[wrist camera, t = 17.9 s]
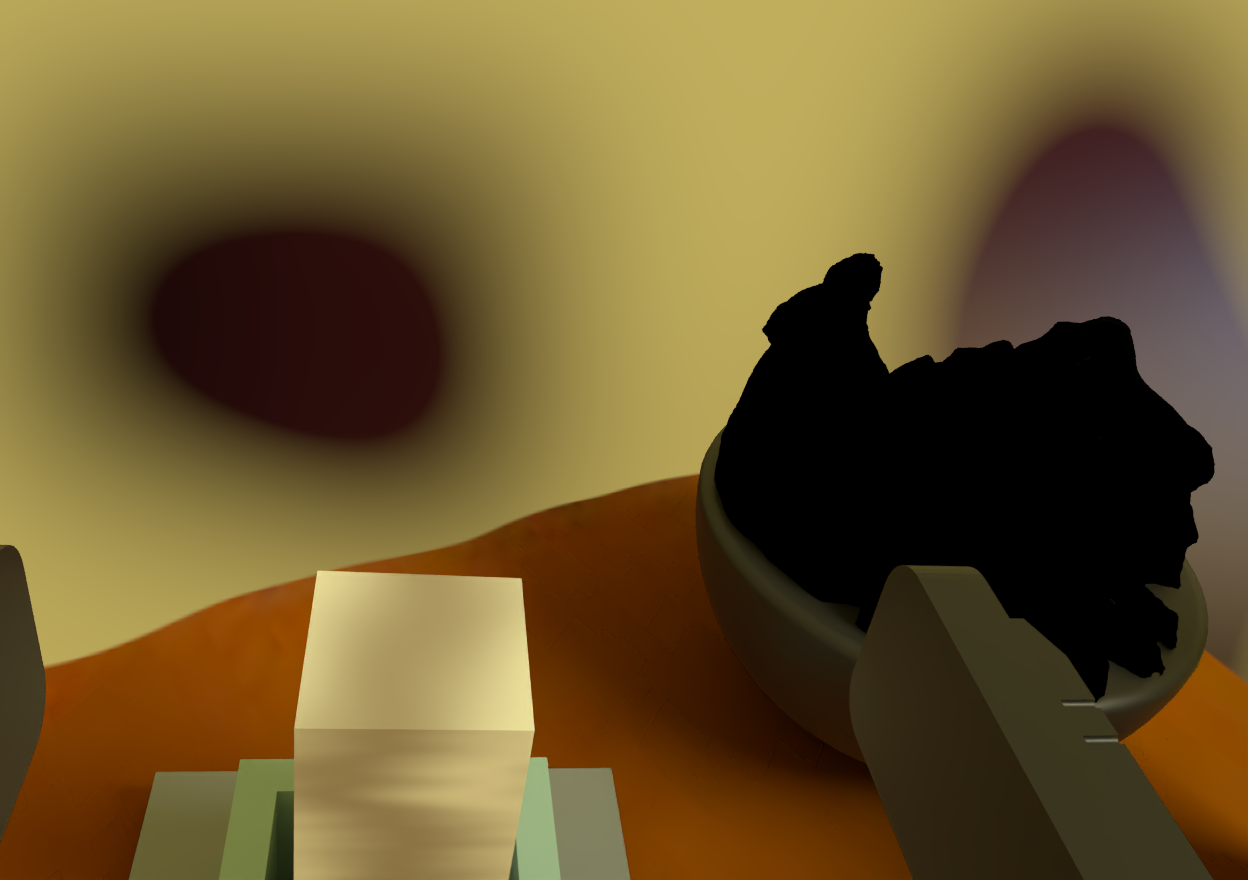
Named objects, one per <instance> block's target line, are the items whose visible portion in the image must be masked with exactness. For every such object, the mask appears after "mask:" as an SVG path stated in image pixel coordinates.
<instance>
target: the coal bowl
mask: <svg viewBox="0 0 1248 880" xmlns="http://www.w3.org/2000/svg"><path fill="white" fill-rule="evenodd" d="M874 256H875V255H874V254H867V253H864V254H863V253H858V254H854V255H853V256H851V257H849V258H845V259H843V260H842V261H840V262H838V263H836V264H835V265H832V266H831V267H830V268H829V270H828V272H827V274H826V275H825V278H824V282H823V283H822V284H818V285H816V286H812V287H809V288H806V289H804V290H802V291H800V292H798V293H797V294H795V295H794V296H793V297H791V298H790V299H789V300H788V301H787V302H784V303H782V304H780V305H779V306H777V308H776V310H775V311H774V312H773V313H772V315H771V316H770V319H769V320H768V321H767V324H766V325H765V326H764V328H763V329H762V330H763V333H765V335H766V336H767V337H768V341H769V342H770V343H771V346H770V347H769V349H768V350H767V351H765V353H764V354H763V356H762V357H761V358H760V360H759V361H758V363H757V365H756V366H755V368H754V369H753V372H752V374H751V375H750V377H749V379H748V381H747V384H746V386H745V388H744V391H743V393H742V395H741V397H740V400H739V402H738V403H737V405H736V408H734V410H733V413H732V414H731V415H730V417H729V420H728V422H727V425H726V426H725V427H724V428H723V429H722V430H721V431H720V433H719V434H718V435H717V436H716V437H715V439H714V441H713V442H712V444H711V445H710V447H709V449H708V450H707V452H706V454H705V457H704V459H703V462H702V465H701V470H700V475H699V481H698V488H697V497H696V534H697V545H698V553H699V559H700V565H701V570H702V575H703V579H704V583H705V586H706V590H707V593H708V596H709V599H710V602H711V605H712V608H713V611H714V613H715V616H716V618H717V620H718V623H719V625H720V627H721V629H722V631H723V633H724V635H725V637H726V639H727V641H728V643H729V644H730V646H731V648H732V650H733V652H734V653H735V655H736V656H737V657H738V659H739V660H740V662H741V663H742V665H743V666H744V668H745V669H746V670H747V672H748V673H749V675H750V676H751V678H752V679H753V680H754V681H755V682H756V684H757V685H758V686H759V687H760V689H761V690H762V691H763V692H764V693H765V694H766V695H767V696H768V697H769V698H770V699H771V700H772V701H773V702H774V703H775V704H776V705H777V706H778V707H779V708H780V709H781V710H782V711H783V712H784V713H785V714H787V715H788V716H789V717H790V718H791V719H792V720H793V721H795V722H796V723H797V724H798V725H800V726H801V727H802V728H804V729H805V730H806V731H808V732H809V733H810V734H812V735H813V736H815V737H816V738H818V739H820V740H821V741H823V742H824V743H826V744H827V745H829V746H831V747H833V748H835V749H836V750H838V751H840V752H842V753H844V754H846V755H848V756H850V757H852V758H854V759H856V760H859V761H861V762H863V763H866V761H865V759H864V756H863V754H862V751H861V749H860V746H859V744H858V741H857V739H856V736H855V733H854V730H853V726H852V721H851V716H850V704H849V693H850V682H851V677H852V673H853V670H854V667H855V664H856V662H857V659H858V656H859V654H860V651H861V648H862V645H863V643H864V640H865V637H866V634H867V632H868V629H869V626H870V624H871V621H872V618H873V615H874V613H875V610H876V607H877V605H878V602H879V599H880V596H881V594H882V591H883V588H884V586H885V583H886V581H887V578H888V576H889V575H890V573H891V572H892V571H893V570H894V569H895V568H896V567H898V566H901V565H916V566H968V567H973V568H974V569H976V570H978V571H979V572H980V573H981V574H982V575H983V577H984V578H985V580H986V581H987V583H988V584H989V586H990V588H991V589H992V591H993V592H994V594H995V596H996V597H997V599H998V600H999V602H1000V604H1001V605H1002V607H1003V609H1004V610H1005V612H1006V613H1007V615H1008V617H1009V618H1017V619H1025V620H1026V621H1027V622H1028V623H1029V624H1030V625H1031V626H1033V627H1034V628H1035V629H1036V630H1037V631H1038V632H1039V633H1041V634H1042V635H1043V636H1044V637H1045V638H1046V639H1048V640H1049V641H1050V642H1051V643H1052V644H1053V645H1054V646H1056V647H1057V648H1058V649H1059V650H1060V651H1061V652H1063V653H1064V654H1065V655H1066V656H1067V657H1068V659H1069V660H1070V662H1071V663H1072V665H1073V666H1074V668H1075V670H1076V671H1077V673H1078V674H1079V676H1080V677H1081V679H1082V680H1083V682H1084V683H1085V685H1086V686H1087V688H1088V689H1089V691H1090V692H1091V694H1092V695H1093V697H1094V698H1095V701H1094V704H1095V707H1096V708H1101V709H1102V711H1103V712H1104V714H1105V715H1106V717H1107V718H1108V720H1109V721H1110V723H1111V724H1112V726H1113V727H1114V729H1115V730H1116V732H1117V733H1118V742H1120V741H1121V740H1123V739H1124V738H1126V737H1128V736H1129V735H1131V734H1132V733H1134V732H1135V731H1136V730H1138V729H1139V728H1140V727H1141V726H1143V725H1144V724H1145V723H1147V722H1148V721H1149V720H1150V719H1151V718H1153V717H1154V716H1155V715H1156V714H1157V713H1158V712H1159V711H1160V710H1161V709H1162V708H1163V707H1164V706H1165V705H1166V704H1167V703H1168V702H1169V701H1170V700H1171V699H1172V698H1173V697H1174V696H1175V695H1176V694H1177V693H1178V692H1179V690H1180V689H1181V688H1182V687H1183V685H1184V684H1185V683H1186V681H1187V680H1188V679H1189V677H1190V676H1191V675H1192V673H1193V672H1194V671H1195V669H1196V668H1197V666H1198V664H1199V662H1200V660H1201V657H1202V655H1203V653H1204V648H1205V644H1206V639H1207V635H1208V613H1207V606H1206V601H1205V598H1204V595H1203V591H1202V588H1201V586H1200V583H1199V581H1198V579H1197V577H1196V575H1195V573H1194V571H1193V569H1192V568H1191V566H1190V564H1189V562H1188V561H1187V559H1186V557H1185V553H1186V550H1187V548H1188V547H1189V546H1191V545H1192V544H1194V543H1197V539H1198V531H1197V528H1196V525H1195V522H1194V517H1193V509H1192V506H1191V505H1190V497H1191V492H1193V491H1195V490H1196V489H1197V488H1198V487H1199V486H1201V485H1203V484H1206V483H1208V482H1209V481H1210V480H1211V478H1212V477H1213V475H1214V465H1215V464H1214V459H1213V454H1212V447H1211V446H1210V445H1209V444H1208V443H1207V441H1206V440H1205V439H1204V437H1203V436H1202V435H1201V434H1200V433H1199V432H1198V431H1197V430H1195V429H1194V428H1193V427H1191V426H1189V425H1187V423H1186V422H1185V421H1184V420H1183V418H1182V417H1181V416H1180V415H1179V414H1178V413H1177V412H1176V410H1174V408H1173V407H1172V406H1171V405H1170V404H1168V403H1167V402H1166V401H1165V400H1164V399H1162V397H1160V396H1159V395H1158V394H1157V393H1156V392H1155V391H1153V390H1152V389H1151V388H1150V387H1149V386H1148V385H1147V384H1146V383H1145V382H1144V381H1143V379H1142V378H1141V376H1140V374H1139V372H1138V370H1137V366H1136V355H1135V350H1134V344H1133V340H1132V336H1131V331H1130V329H1129V327H1128V326H1127V325H1126V324H1125V323H1124V322H1122V321H1121V320H1119V319H1115V318H1114V317H1109V316H1107V317H1100V318H1098V319H1093V320H1089V321H1086V322H1083V323H1072V322H1057V323H1056V324H1055V325H1054V326H1053V327H1052V328H1051V329H1050V330H1049V332H1047V333H1046V334H1044V335H1043V336H1042V337H1041V338H1038V339H1036V340H1033V341H1030V342H1027V343H1023V344H1021V345H1019V346H1018V347H1016V348H1015V349H1014V348H1013V346H1012V344H1011V343H1010V342H1009V341H1005V340H1001V341H997V342H993V343H990V344H988V345H986V346H985V347H983V348H972V347H971V348H957V349H955V350H954V352H953V353H952V354H951V355H950V356H949V357H947V358H946V359H945V360H944V361H943V362H937V363H935V362H934V360H933V359H932V357H931V356H929V355H925V356H923V357H920V358H917V359H916V360H914V361H911V362H909V363H906V364H904V365H902V366H900V367H899V368H897V369H895V370H894V371H893V372H891V373H890V374H889V371H888V369H887V367H886V365H885V364H884V363H883V361H882V360H881V358H880V356H879V354H878V350H877V349H876V347H875V345H874V343H873V342H872V340H871V339H870V336H869V331H868V325H867V324H866V323H867V314H868V310H870V309H871V306H870V301H872V300H873V298H874V296H875V295H876V293H877V292H878V291H879V288H880V283H881V281H880V280H881V272H882V270H883V267H881V266H880V262H879V261H877V259H875V257H874Z"/></svg>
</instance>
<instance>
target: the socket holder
mask: <svg viewBox="0 0 1248 880" xmlns="http://www.w3.org/2000/svg"><path fill="white" fill-rule="evenodd" d="M129 880H294V759H240V763H239V769H238V771H216V772H156V774H155V778H154V782H153V786H152V790H151V794H150V798H149V802H148V805H147V809H146V813H145V817H144V821H143V825H142V829H141V833H140V837H139V841H138V845H137V849H136V853H135V857H134V861H133V864H132V868H131V872H130V876H129ZM509 880H630V875H629V869H628V863H627V857H626V851H625V846H624V840H623V834H622V828H621V822H620V817H619V811H618V805H617V799H616V793H615V787H614V782H613V776H612V770H611V768H561V769H548V762H547V757H530V760H529V765H528V771H527V777H526V783H525V788H524V794H523V800H522V806H521V811H520V817H519V823H518V829H517V834H516V840H515V846H514V852H513V857H512V863H511V869H510V875H509Z"/></svg>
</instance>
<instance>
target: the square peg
mask: <svg viewBox="0 0 1248 880" xmlns="http://www.w3.org/2000/svg"><path fill="white" fill-rule="evenodd" d="M534 731H535V730H534V718H533V707H532V695H531V684H530V672H529V660H528V649H527V637H526V626H525V614H524V603H523V591H522V580H521V578H499V577H472V576H446V575H419V574H392V573H365V572H339V571H317V578H316V585H315V592H314V598H313V605H312V612H311V619H310V625H309V632H308V639H307V646H306V652H305V659H304V666H303V673H302V679H301V686H300V693H299V700H298V706H297V713H296V720H295V727H294V880H509V875H510V869H511V863H512V857H513V852H514V846H515V840H516V834H517V829H518V823H519V817H520V811H521V806H522V800H523V794H524V788H525V783H526V777H527V771H528V765H529V760H530V754H531V748H532V742H533V737H534Z"/></svg>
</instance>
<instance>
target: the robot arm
mask: <svg viewBox="0 0 1248 880" xmlns="http://www.w3.org/2000/svg"><path fill="white" fill-rule="evenodd" d="M45 693H46V686H45V672H44V666H43V661H42V656H41V651H40V646H39V641H38V636H37V631H36V626H35V621H34V616H33V612H32V607H31V601H30V596H29V591H28V586H27V582H26V576H25V571H24V566H23V562H22V559H21V556H20V553H19V552H18V550H17V549H16V548H15V547H14V546H11V545H0V842H1V839H2V837H3V834H4V831H5V829H6V826H7V823H8V821H9V818H10V815H11V813H12V810H13V807H14V805H15V802H16V799H17V797H18V794H19V791H20V788H21V786H22V783H23V780H24V778H25V775H26V772H27V770H28V767H29V764H30V762H31V759H32V756H33V754H34V751H35V748H36V745H37V742H38V739H39V735H40V731H41V727H42V722H43V715H44V707H45ZM1094 701H1095V698H1094V697H1093V695H1092V694H1091V692H1090V691H1089V689H1088V688H1087V686H1086V685H1085V683H1084V682H1083V680H1082V679H1081V677H1080V676H1079V674H1078V673H1077V671H1076V670H1075V668H1074V666H1073V665H1072V663H1071V662H1070V660H1069V659H1068V657H1067V656H1066V655H1065V654H1064V653H1063V652H1061V651H1060V650H1059V649H1058V648H1057V647H1056V646H1054V645H1053V644H1052V643H1051V642H1050V641H1049V640H1048V639H1046V638H1045V637H1044V636H1043V635H1042V634H1041V633H1039V632H1038V631H1037V630H1036V629H1035V628H1034V627H1033V626H1031V625H1030V624H1029V623H1028V622H1027V621H1026V620H1025V619H1017V618H1009V617H1008V615H1007V613H1006V612H1005V610H1004V609H1003V607H1002V605H1001V604H1000V602H999V600H998V599H997V597H996V596H995V594H994V592H993V591H992V589H991V588H990V586H989V584H988V583H987V581H986V580H985V578H984V577H983V575H982V574H981V573H980V572H979V571H978V570H976V569H974V568H973V567H968V566H916V565H901V566H898V567H896V568H895V569H894V570H893V571H892V572H891V573H890V575H889V576H888V578H887V581H886V583H885V586H884V588H883V591H882V594H881V596H880V599H879V602H878V605H877V607H876V610H875V613H874V615H873V618H872V621H871V624H870V626H869V629H868V632H867V634H866V637H865V640H864V643H863V645H862V648H861V651H860V654H859V656H858V659H857V662H856V664H855V667H854V670H853V673H852V677H851V682H850V693H849V704H850V716H851V721H852V726H853V730H854V733H855V736H856V739H857V741H858V744H859V746H860V749H861V751H862V754H863V756H864V759H865V761H866V764H867V766H868V769H869V771H870V774H871V776H872V778H873V781H874V783H875V786H876V788H877V791H878V793H879V796H880V798H881V801H882V803H883V806H884V808H885V811H886V813H887V815H888V818H889V820H890V823H891V825H892V828H893V830H894V833H895V835H896V838H897V840H898V843H899V845H900V848H901V850H902V852H903V855H904V857H905V860H906V862H907V865H908V867H909V870H910V872H911V875H912V877H913V880H1213V878H1212V877H1211V875H1210V874H1209V872H1208V871H1207V869H1206V867H1205V866H1204V864H1203V863H1202V861H1201V860H1200V858H1199V857H1198V855H1197V854H1196V852H1195V851H1194V849H1193V848H1192V846H1191V845H1190V843H1189V842H1188V840H1187V839H1186V837H1185V836H1184V834H1183V832H1182V831H1181V829H1180V828H1179V826H1178V825H1177V823H1176V822H1175V820H1174V819H1173V817H1172V816H1171V814H1170V813H1169V811H1168V810H1167V808H1166V807H1165V805H1164V804H1163V802H1162V800H1161V799H1160V797H1159V796H1158V794H1157V793H1156V791H1155V790H1154V788H1153V787H1152V785H1151V784H1150V782H1149V781H1148V779H1147V778H1146V776H1145V775H1144V773H1143V772H1142V770H1141V769H1140V767H1139V765H1138V764H1137V762H1136V761H1135V759H1134V758H1133V756H1132V755H1131V753H1130V752H1129V750H1128V749H1127V747H1126V746H1125V744H1119V742H1118V733H1117V732H1116V730H1115V729H1114V727H1113V726H1112V724H1111V723H1110V721H1109V720H1108V718H1107V717H1106V715H1105V714H1104V712H1103V711H1102V709H1101V708H1096V707H1095V704H1094Z"/></svg>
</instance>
